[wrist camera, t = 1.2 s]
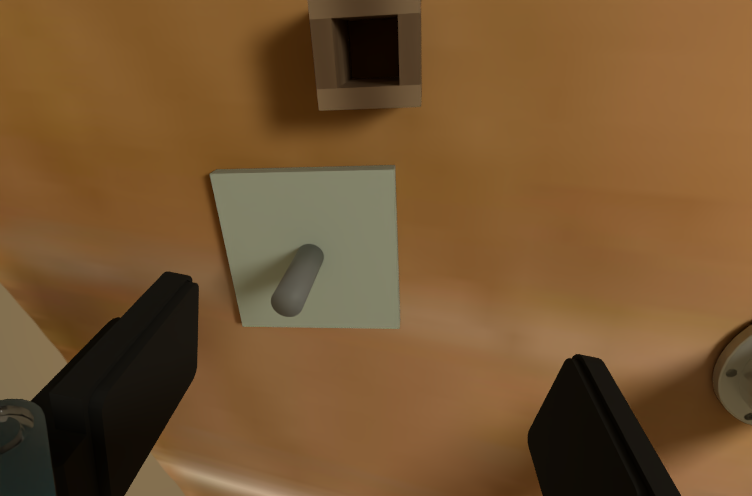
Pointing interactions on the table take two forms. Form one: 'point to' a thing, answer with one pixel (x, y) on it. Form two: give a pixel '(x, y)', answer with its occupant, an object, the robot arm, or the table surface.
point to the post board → (318, 220)
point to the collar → (333, 63)
